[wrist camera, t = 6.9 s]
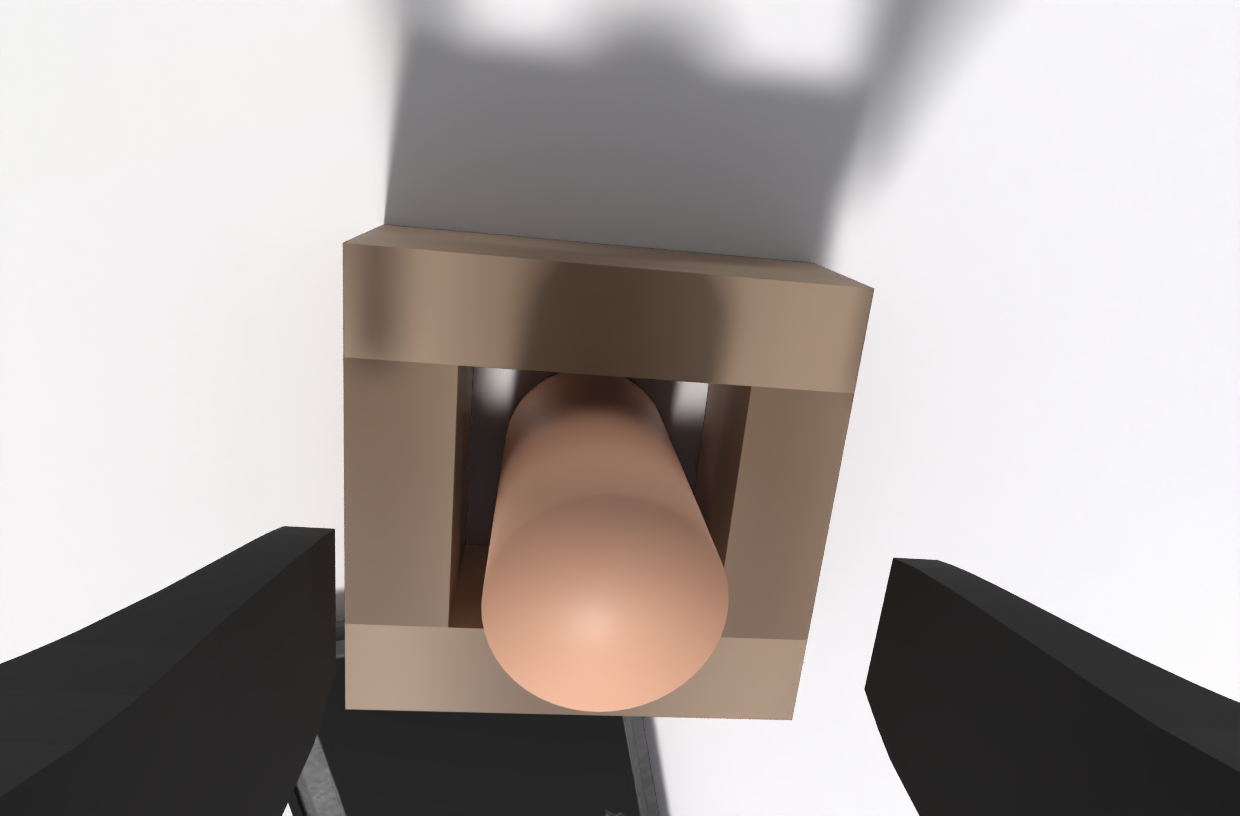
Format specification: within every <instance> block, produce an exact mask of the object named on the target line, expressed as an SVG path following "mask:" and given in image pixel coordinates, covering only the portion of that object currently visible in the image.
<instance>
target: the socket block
mask: <svg viewBox="0 0 1240 816" xmlns="http://www.w3.org/2000/svg"><path fill="white" fill-rule="evenodd" d="M873 292H874V288H872V287H869V286H867V285H864V284H862V283H860V282H857V281H855V280H853V279H850V278H848V277H845V276H843V275H841V274H838V273H836V272H834V271H831V270H829V269H827V268H824V267H822V266H819V265H817V264H815V263H808V262H797V261H785V260H774V259H763V258H752V257H740V256H729V255H718V254H707V253H696V252H684V251H673V250H662V249H651V248H639V247H628V246H617V245H606V244H595V243H583V242H572V241H561V240H550V239H538V238H527V237H516V236H505V235H494V234H482V233H471V232H460V231H449V230H437V229H426V228H415V227H404V226H393V225H381V226H379V227H377V228H375V229H373V230H370V231H368V232H366V233H364V234H361V235H359V236H357V237H355V238H352V239H350V240H348V241H346V242H344V243H343V365H344V546H345V709H358V710H399V711H440V712H481V713H521V714H562V715H603V716H644V717H685V718H726V719H767V720H792V717H793V712H794V707H795V702H796V696H797V691H798V686H799V681H800V675H801V670H802V665H803V660H804V654H805V649H806V644H807V639H808V633H809V628H810V623H811V618H812V613H813V607H814V602H815V597H816V592H817V586H818V581H819V576H820V571H821V565H822V560H823V555H824V550H825V544H826V539H827V534H828V529H829V523H830V518H831V513H832V508H833V502H834V497H835V492H836V487H837V481H838V476H839V471H840V466H841V460H842V455H843V450H844V445H845V439H846V434H847V429H848V424H849V418H850V413H851V408H852V403H853V397H854V392H855V387H856V382H857V376H858V371H859V366H860V361H861V355H862V350H863V345H864V340H865V334H866V329H867V324H868V319H869V313H870V308H871V303H872V298H873ZM473 366H475V367H489V368H503V369H517V370H531V371H545V372H559V373H573V374H587V375H601V376H615V377H629V378H643V379H657V380H672V381H686V382H700V383H709V388H708V396H707V403H706V410H705V418H704V425H703V433H702V440H701V448H700V455H699V463H698V470H697V477H696V485H695V492H694V497H695V500H696V502H697V505H698V507H699V509H700V512H701V514H702V516H703V519H704V521H705V524H706V526H707V528H708V531H709V533H710V536H711V538H712V540H713V543H714V545H715V547H716V550H717V552H718V555H719V557H720V560H721V562H722V565H723V567H724V570H725V574H726V578H727V582H728V593H729V602H728V613H727V618H726V623H725V626H724V629H723V632H722V635H721V637H720V640H719V641H718V643H717V645H716V647H715V649H714V651H713V652H712V654H711V655H710V657H709V658H708V660H707V661H706V662H705V664H704V665H703V666H702V667H701V668H700V669H699V670H698V671H697V672H696V674H695V675H693V676H692V677H691V678H690V679H689V680H688V681H686V682H685V683H684V684H683V685H681V686H680V687H678V688H677V689H675V690H674V691H672V692H671V693H669V694H667V695H665V696H663V697H661V698H659V699H657V700H655V701H652V702H650V703H647V704H644V705H641V706H637V707H634V708H630V709H625V710H618V711H608V712H591V711H580V710H575V709H569V708H565V707H562V706H559V705H555V704H552V703H550V702H548V701H545V700H543V699H541V698H539V697H537V696H535V695H534V694H532V693H530V692H529V691H527V690H525V689H524V688H523V687H522V686H520V685H519V684H518V683H517V682H515V681H514V680H513V679H512V678H511V677H510V676H509V675H508V674H507V673H506V672H505V671H504V669H503V668H502V666H501V665H500V664H499V662H498V661H497V660H496V658H495V656H494V654H493V652H492V650H491V649H490V647H489V644H488V641H487V638H486V636H485V632H484V627H483V622H482V610H481V603H482V594H483V586H484V579H485V573H486V566H487V560H488V553H489V546H473V545H465V543H466V521H467V498H468V475H469V452H470V429H471V406H472V383H473Z"/></svg>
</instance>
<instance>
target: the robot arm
mask: <svg viewBox="0 0 1240 816" xmlns="http://www.w3.org/2000/svg"><path fill="white" fill-rule="evenodd" d="M335 673H336V606H335V529H327V528H308V527H288V526H283V527H281V528H278V529H276V530H273V531H271V532H269V533H267V534H265V535H263V536H261V537H259V538H257V539H255V540H253V541H251V542H249V543H247V544H246V545H244V546H242V547H240V548H238V549H236V550H234V551H233V552H231V553H229V554H227V555H225V556H224V557H222V558H220V559H218V560H216V561H214V562H213V563H211V564H209V565H207V566H205V567H203V568H201V569H200V570H198V571H196V572H194V573H192V574H190V575H188V576H187V577H185V578H183V579H181V580H179V581H177V582H175V583H174V584H172V585H170V586H168V587H166V588H164V589H162V590H160V591H158V592H157V593H155V594H152V595H150V596H148V597H146V598H144V599H142V600H140V601H138V602H136V603H134V604H132V605H130V606H128V607H126V608H124V609H122V610H120V611H118V612H116V613H114V614H111V615H109V616H107V617H105V618H103V619H101V620H99V621H97V622H95V623H93V624H91V625H89V626H87V627H85V628H83V629H81V630H79V631H77V632H75V633H72V634H70V635H68V636H66V637H63V638H61V639H59V640H57V641H54V642H52V643H50V644H47V645H45V646H43V647H40V648H38V649H36V650H33V651H31V652H29V653H26V654H24V655H22V656H19V657H16V658H14V659H11V660H9V661H6V662H4V663H1V664H0V816H282V814H283V812H284V810H285V808H286V806H287V804H288V801H289V799H290V797H291V795H292V792H293V790H294V788H295V786H296V784H297V781H298V779H299V777H300V775H301V772H302V770H303V768H304V766H305V763H306V761H307V759H308V757H309V754H310V752H311V750H312V747H313V745H314V743H315V739H316V736H317V733H318V730H319V727H320V724H321V720H322V717H323V714H324V711H325V708H326V704H327V701H328V697H329V694H330V690H331V687H332V684H333V680H334V677H335ZM865 692H866V695H867V698H868V701H869V704H870V707H871V710H872V713H873V715H874V718H875V721H876V724H877V727H878V730H879V732H880V735H881V737H882V740H883V742H884V745H885V748H886V750H887V753H888V755H889V758H890V760H891V762H892V764H893V766H894V768H895V770H896V772H897V774H898V776H899V778H900V780H901V781H902V783H903V785H904V787H905V789H906V791H907V793H908V795H909V797H910V798H911V800H912V802H913V804H914V806H915V808H916V810H917V812H918V814H919V816H1240V703H1239V702H1237V701H1234V700H1232V699H1229V698H1227V697H1224V696H1222V695H1220V694H1217V693H1215V692H1213V691H1210V690H1208V689H1206V688H1204V687H1201V686H1199V685H1197V684H1194V683H1192V682H1190V681H1188V680H1185V679H1183V678H1181V677H1179V676H1177V675H1175V674H1173V673H1171V672H1168V671H1166V670H1164V669H1162V668H1160V667H1158V666H1156V665H1154V664H1151V663H1149V662H1147V661H1145V660H1143V659H1141V658H1139V657H1136V656H1134V655H1132V654H1130V653H1128V652H1126V651H1124V650H1122V649H1120V648H1118V647H1116V646H1114V645H1112V644H1110V643H1108V642H1106V641H1104V640H1102V639H1100V638H1098V637H1096V636H1094V635H1092V634H1090V633H1088V632H1086V631H1084V630H1082V629H1080V628H1078V627H1076V626H1074V625H1072V624H1070V623H1068V622H1066V621H1064V620H1062V619H1061V618H1059V617H1057V616H1055V615H1053V614H1051V613H1049V612H1047V611H1045V610H1043V609H1041V608H1039V607H1037V606H1035V605H1033V604H1032V603H1030V602H1028V601H1026V600H1024V599H1022V598H1020V597H1018V596H1016V595H1014V594H1012V593H1010V592H1008V591H1006V590H1004V589H1002V588H1000V587H998V586H996V585H994V584H992V583H990V582H988V581H986V580H984V579H982V578H980V577H978V576H976V575H974V574H971V573H969V572H967V571H965V570H962V569H960V568H958V567H955V566H953V565H950V564H947V563H944V562H942V561H939V560H926V559H907V558H893V561H892V566H891V570H890V575H889V579H888V584H887V589H886V593H885V598H884V602H883V607H882V611H881V616H880V621H879V625H878V630H877V634H876V639H875V643H874V648H873V653H872V657H871V662H870V666H869V671H868V675H867V680H866V685H865Z"/></svg>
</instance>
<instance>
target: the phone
mask: <svg viewBox="0 0 1240 816" xmlns="http://www.w3.org/2000/svg"><path fill="white" fill-rule="evenodd" d="M288 803H289V806H290V809H291V812H292V814H293V816H659V812H658V806H657V801H656V795H655V789H654V783H653V777H652V771H651V766H650V760H649V754H648V748H647V742H646V736H645V731H644V725H643V719H642V716H603V715H562V714H521V713H481V712H440V711H399V710H358V709H345V621H341V622H336V673H335V677H334V680H333V684H332V687H331V690H330V694H329V697H328V701H327V704H326V708H325V711H324V714H323V717H322V720H321V724H320V727H319V730H318V733H317V736H316V739H315V743H314V745H313V747H312V750H311V752H310V754H309V757H308V759H307V761H306V763H305V766H304V768H303V770H302V772H301V775H300V777H299V779H298V781H297V784H296V786H295V788H294V790H293V792H292V795H291V797H290V799H289V801H288Z"/></svg>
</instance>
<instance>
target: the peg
mask: <svg viewBox="0 0 1240 816" xmlns="http://www.w3.org/2000/svg"><path fill="white" fill-rule="evenodd" d="M728 602H729V593H728V582H727V578H726V574H725V570H724V567H723V565H722V562H721V560H720V557H719V555H718V552H717V550H716V547H715V545H714V543H713V540H712V538H711V536H710V533H709V531H708V528H707V526H706V524H705V521H704V519H703V516H702V514H701V512H700V509H699V507H698V505H697V502H696V500H695V497H694V495H693V493H692V490H691V488H690V485H689V483H688V481H687V478H686V476H685V473H684V471H683V469H682V466H681V464H680V462H679V459H678V457H677V454H676V452H675V450H674V447H673V445H672V442H671V440H670V438H669V435H668V433H667V431H666V428H665V426H664V423H663V421H662V419H661V416H660V414H659V411H658V410H657V408H656V406H655V404H654V403H653V401H652V400H651V399H650V398H649V396H648V395H647V394H646V393H645V392H644V391H643V390H642V389H641V388H640V387H638V386H637V385H636V384H634V383H633V382H632V381H630V380H628V379H626V378H624V377H615V376H601V375H587V374H573V373H559V374H556V375H554V376H551V377H549V378H547V379H546V380H544V381H542V382H540V383H539V384H538V385H536V386H535V387H534V388H532V389H531V390H530V391H529V392H528V393H527V394H526V395H525V396H524V397H523V399H522V400H521V401H520V403H519V404H518V406H517V407H516V409H515V411H514V412H513V414H512V417H511V419H510V422H509V425H508V429H507V434H506V440H505V447H504V453H503V460H502V467H501V473H500V480H499V487H498V493H497V500H496V506H495V513H494V520H493V526H492V533H491V540H490V546H489V553H488V560H487V566H486V573H485V579H484V586H483V594H482V603H481V610H482V622H483V627H484V632H485V636H486V638H487V641H488V644H489V647H490V649H491V650H492V652H493V654H494V656H495V658H496V660H497V661H498V662H499V664H500V665H501V666H502V668H503V669H504V671H505V672H506V673H507V674H508V675H509V676H510V677H511V678H512V679H513V680H514V681H515V682H517V683H518V684H519V685H520V686H522V687H523V688H524V689H525V690H527V691H529V692H530V693H532V694H534V695H535V696H537V697H539V698H541V699H543V700H545V701H548V702H550V703H552V704H555V705H559V706H562V707H565V708H569V709H575V710H580V711H591V712H608V711H618V710H625V709H630V708H634V707H637V706H641V705H644V704H647V703H650V702H652V701H655V700H657V699H659V698H661V697H663V696H665V695H667V694H669V693H671V692H672V691H674V690H675V689H677V688H678V687H680V686H681V685H683V684H684V683H685V682H686V681H688V680H689V679H690V678H691V677H692V676H693V675H695V674H696V672H697V671H698V670H699V669H700V668H701V667H702V666H703V665H704V664H705V662H706V661H707V660H708V658H709V657H710V655H711V654H712V652H713V651H714V649H715V647H716V645H717V643H718V641H719V640H720V637H721V635H722V632H723V629H724V626H725V623H726V618H727V613H728Z"/></svg>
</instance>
